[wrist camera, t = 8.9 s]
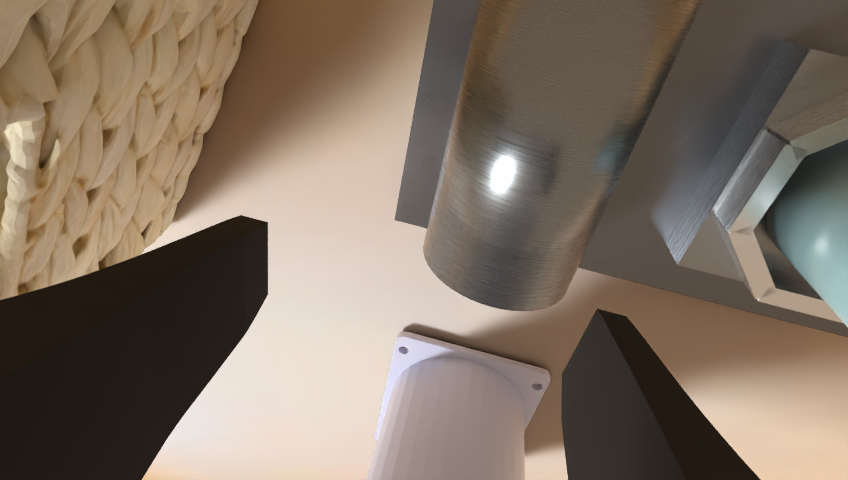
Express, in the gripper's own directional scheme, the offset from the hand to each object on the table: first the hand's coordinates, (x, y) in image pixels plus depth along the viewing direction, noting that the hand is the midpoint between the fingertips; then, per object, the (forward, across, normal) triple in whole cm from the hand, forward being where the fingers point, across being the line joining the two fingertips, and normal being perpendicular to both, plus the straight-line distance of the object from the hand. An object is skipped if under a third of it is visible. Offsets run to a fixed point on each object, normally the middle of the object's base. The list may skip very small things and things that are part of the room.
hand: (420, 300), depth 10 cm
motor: (+9, -7, -2) cm, 12 cm away
